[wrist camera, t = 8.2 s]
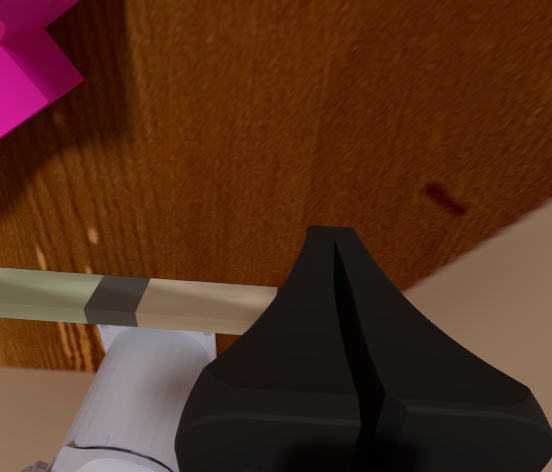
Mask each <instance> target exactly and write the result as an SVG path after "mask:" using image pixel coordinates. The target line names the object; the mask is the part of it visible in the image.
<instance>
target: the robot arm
mask: <svg viewBox="0 0 552 472" xmlns="http://www.w3.org/2000/svg"><path fill="white" fill-rule="evenodd" d="M97 326H98V329H99V333H100V336H101V340H102V343H103V347H104V350H105V354H106V355H105V357H104V359H103V361H102V363H101V365H100V367H99V369H98V371H97V374H96V376H95V378H94V380H93V382H92V384H91V386H90V388H89V390H88V392H87V394H86V396H85V398H84V400H83V403H82V405H81V407H80V409H79V411H78V413H77V415H76V417H75V419H74V421H73V423H72V425H71V428H70V430H69V432H68V434H67V436H66V438H65V440H64V442H63V444H62V446H61V448H60V450H59V452H58V453H57V455H56V457H55V458H54V460H53V462H52V463H51V465H50V466H49V468H48V465H49V464H48V463H45V462H43V461H37V462H36V463H35V464H34V465H33V466H30V467H27V468H25V469H23V470H22V471H21V472H541V471H542V470H543V468H544V467H545V466H546V465H547V463H548V462H549V461H550V459H551V457H552V429H551V426H550V425H549V422H548V420H547V418H546V417H545V414H544V412H543V410H542V409H541V407H540V405H539V403H538V402H537V400H536V399H535V397H534V395H533V394H532V393H531V390H530V389H529V388H528V387H527V386H525V385H523V384H522V383H520V382H518V381H516V380H515V379H513V378H511V377H509V376H508V375H506V374H505V373H503V372H501V371H499V370H498V369H496V368H494V367H493V366H491V365H489V364H488V363H486V362H485V361H483V360H482V359H480V358H478V357H477V356H476V355H474V354H473V353H471V352H470V351H468V350H467V349H465V348H464V347H463V346H461V345H460V344H459V343H457V342H456V341H454V340H453V339H452V338H450V337H449V336H448V335H447V334H445V333H444V332H443V331H442V330H440V329H439V328H438V327H437V326H435V325H434V324H433V323H432V322H430V320H428V319H427V318H426V317H425V316H424V315H423V314H421V312H419V311H418V310H417V309H416V308H415V307H414V306H413V305H412V304H411V303H410V302H409V301H408V300H407V299H406V298H405V297H404V296H403V295H402V294H401V292H400V291H399V290H398V289H397V288H396V287H395V286H394V284H393V283H392V282H391V281H390V280H389V278H388V277H387V276H386V275H385V274H384V272H383V271H382V270H381V268H380V267H379V266H378V264H377V263H376V262H375V260H374V259H373V258H372V256H371V255H370V253H369V252H368V250H367V249H366V247H365V246H364V244H363V243H362V241H361V240H360V238H359V237H358V235H357V233H356V232H355V230H354V229H353V228H349V227H331V226H313V225H311V226H309V227H308V228H307V232H306V239H305V242H304V245H303V248H302V250H301V253H300V255H299V257H298V259H297V261H296V264H295V266H294V268H293V269H292V271H291V273H290V275H289V276H288V278H287V280H286V282H285V283H284V285H283V286H282V288H281V290H280V291H279V293H278V294H277V295H276V297H275V298H274V299H273V301H272V302H271V304H270V305H269V306H268V307H267V309H266V310H265V311H264V312H263V313H262V315H261V316H260V317H259V318H258V319H257V320H256V321H255V323H254V324H253V325H252V326H251V327H250V328H249V329H248V330H247V331H246V332H245V333H244V334H243V335H242V336H241V337H240V338H239V339H238V340H237V341H235V342H234V343H233V344H232V345H231V346H230V347H229V348H228V349H227V350H225V351H224V352H223V353H222V354H220V355H219V356H218V357H217V347H216V333H209V332H195V331H182V330H168V329H154V328H140V327H127V326H113V325H99V324H97ZM47 468H48V470H47Z"/></svg>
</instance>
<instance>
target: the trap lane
mask: <svg viewBox="0 0 552 472" xmlns="http://www.w3.org/2000/svg"><path fill="white" fill-rule="evenodd" d="M276 295H277V287H264V286H250V285H236V284H222V283H208V282H194V281H179V280H165V279H151V278H137V277H123V276H109V275H95V274H81V273H66V272H52V271H38V270H24V269H10V268H0V317H3V318H17V319H31V320H44V321H58V322H72V323H86V324H99V325H113V326H127V327H140V328H154V329H168V330H182V331H195V332H209V333H223V334H237V335H243V334H244V333H245V332H246V331H247V330H248V329H249V328H250V327H251V326H252V325H253V324H254V323H255V321H256V320H257V319H258V318H259V317H260V316H261V315H262V313H263V312H264V311H265V310H266V309H267V307H268V306H269V305H270V304H271V302H272V301H273V299H274V298H275V297H276Z"/></svg>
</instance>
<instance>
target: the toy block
mask: <svg viewBox="0 0 552 472" xmlns="http://www.w3.org/2000/svg"><path fill="white" fill-rule="evenodd" d="M78 1H80V0H0V139H2V138H3V137H4V136H6V135H7V134H9V133H10V132H12V131H13V130H14V129H16V128H17V127H19V126H20V125H22V124H23V123H24V122H26V121H27V120H29V119H30V118H32V117H33V116H34V115H36V114H37V113H39V112H40V111H42V110H43V109H44V108H46V107H47V106H49V105H50V104H51V103H53V102H54V101H56V100H57V99H59V98H60V97H61V96H63V95H64V94H66V93H67V92H69V91H70V90H71V89H73V88H74V87H76V86H77V85H79V84H80V83H81V82H83V81H84V80H85V79H84V78H83V77H82V76H81V74H80V73H79V72H78V71H77V69H76V68H75V67H74V66H73V64H72V63H71V62H70V60H69V59H68V58H67V57H66V55H65V54H64V53H63V52H62V50H61V49H60V48H59V47H58V45H57V44H56V43H55V41H54V40H53V39H52V38H51V36H50V35H49V34H48V33H47V31H46V30H45V29H44V28H45V27H47V26H48V25H49V24H51V23H52V22H53V21H54V20H56V19H57V18H58V17H59V16H61V15H62V14H63V13H64V12H66V11H67V10H68V9H69V8H71V7H72V6H73V5H75V4H76V3H77V2H78Z"/></svg>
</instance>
